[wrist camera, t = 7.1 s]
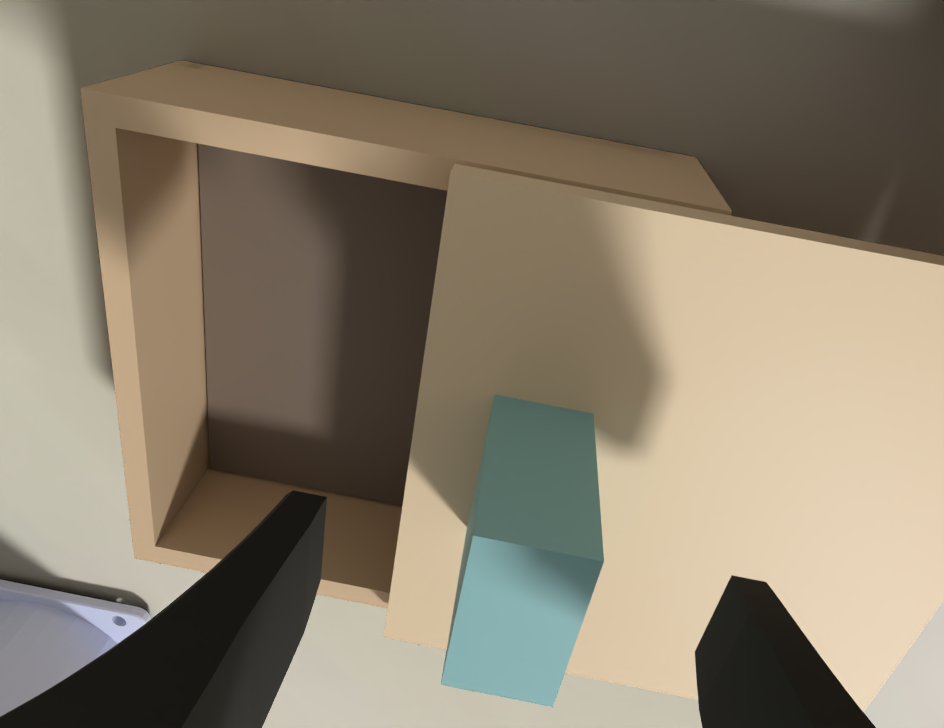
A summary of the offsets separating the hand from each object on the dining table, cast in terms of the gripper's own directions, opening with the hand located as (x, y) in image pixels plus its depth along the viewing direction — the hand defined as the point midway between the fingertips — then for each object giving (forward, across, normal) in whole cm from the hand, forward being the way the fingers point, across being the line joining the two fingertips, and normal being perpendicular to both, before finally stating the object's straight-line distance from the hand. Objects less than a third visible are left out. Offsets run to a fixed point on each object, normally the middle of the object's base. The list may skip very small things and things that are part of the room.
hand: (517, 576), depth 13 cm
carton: (+8, +3, 0) cm, 9 cm away
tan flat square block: (+3, -4, 0) cm, 5 cm away
